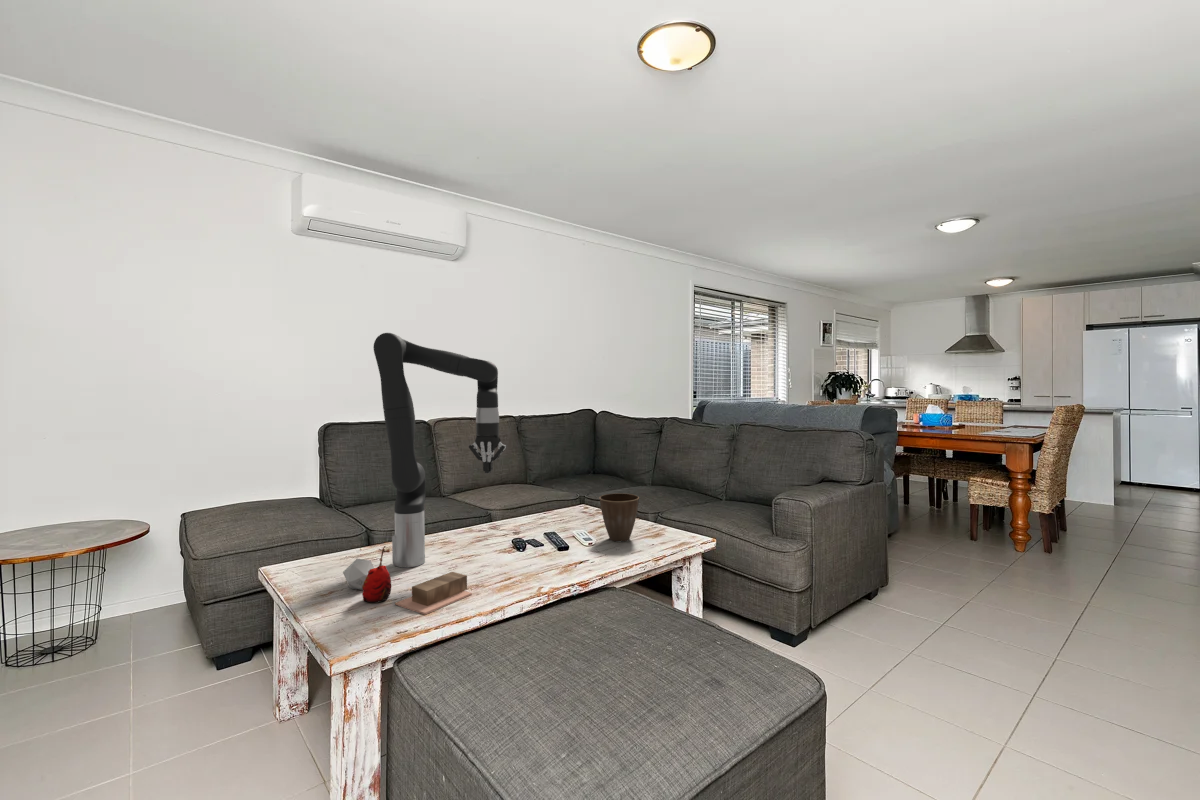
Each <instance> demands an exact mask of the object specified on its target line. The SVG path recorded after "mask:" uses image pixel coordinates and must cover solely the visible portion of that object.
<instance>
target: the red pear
mask: <svg viewBox="0 0 1200 800" xmlns="http://www.w3.org/2000/svg"><path fill="white" fill-rule="evenodd" d="M385 548H386V545H384V546H383V548H382V549H381V548H378V550H379V551H380V552H381V555H380V558H379V565H378V566H377V567H374V569H370V570H369V571H368V575H367V577H366V579H365V581H364V584H363V586H362V589H363V590H362V594H361V595H362V601H363V602H365V603H370V604H373V603H374V604H376V603H381V602H384V601H386V600H388V599H389V597H390V595H391V592H392V578H391V575H390V572H389V571H388V569H387V565H384V564H383V565H382V563H383V555H384V553H390V551H391V550H390V549H387V550H385Z"/></svg>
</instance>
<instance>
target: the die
mask: <svg viewBox="0 0 1200 800" xmlns="http://www.w3.org/2000/svg"><path fill="white" fill-rule="evenodd" d="M372 562H373V561H372V560H370V559H363V558H356V559H354V561H353V562H352V563H350V565H348V566H347V567H346V569H344V571H342V574H343V576H344V578H345V581H346V582H347V585H348V587H349V589H355V590H360V591H361V590H362V591H363V589H362V586H363V584H364V581H365V579H366V577H367V575H368V571H369V570H370V569H374V568H375V567H374V565H373V563H372Z"/></svg>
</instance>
